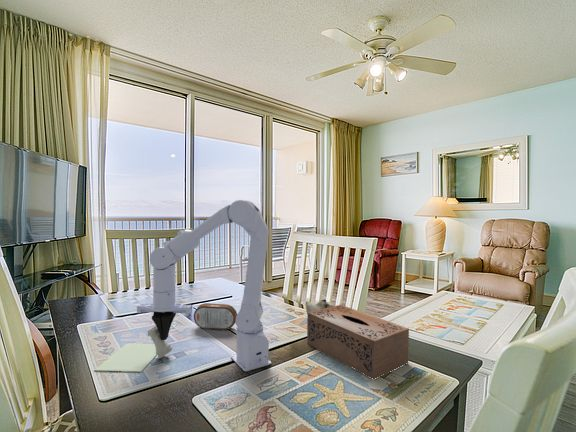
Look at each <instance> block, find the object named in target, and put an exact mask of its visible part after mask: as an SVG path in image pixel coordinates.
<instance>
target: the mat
mask: <svg viewBox="0 0 576 432" xmlns="http://www.w3.org/2000/svg"><path fill="white" fill-rule="evenodd" d="M156 357H158V355H156V347H155V344H154V343H134V342H132V343H131V342H128V343H125V344H124V345H123V346H122V347H120V349H118V350H117V351H116V352H114V353H113V354H112V355H110V357H108V358H107V359H106V360H105V361H103V362H102V363H101V364H100V365H99V366H98V367H96V368H95V369H94V370H93V371H94V372H108V371H118V372H119V371H121V373H122V372H123V373H142V372H143V371H144V370H145V369H146V368H147V367H148V365H150V363H151V362H152V361H154V359H155V358H156ZM118 372H117V373H118ZM119 373H120V372H119Z"/></svg>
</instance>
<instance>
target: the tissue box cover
mask: <svg viewBox="0 0 576 432" xmlns="http://www.w3.org/2000/svg"><path fill="white" fill-rule="evenodd" d="M306 324H307V325H306V326H307V328H306V329H307V330H306V331H307V332H306V333H307V334H306V335H307V336H306V338H307V339H306V344H307V345H309V346H311V347H313V348H315V350H318V351H320V352H321V353H324V354H325V353H326V354H325V355H326V356H329V357H330V358H332V357H333V358H332V359H334V358H335V359H334V360H336V359H337V360H336V361H338V360H339V361H338V362H339V363H341V362H342V363H341V364H343V363H344V364H343V365H345V364H346V366H347V365H348V366H347V367H349V366H350V367H349V368H351V367H353V368H355V369H356V370H358V371H360V372H362V373H364V374H365V375H367V376H369V377H371V378H373V379H375V378H377V377H379V376H381V375H383V374H386V373H388V372H390V371H392V370H394V369H396V368H398V367H400V366H402V365H404V364H406V363H408V364H409V342H410V341H409V340H410V339H409V338H410V337H409V336H410V328H408V327H405V326H403V325H400V324H397V323H394V322H391V321H388V320H385V319H382V318H380V317H376V316H374V315H371V314H368V313H366V312H363V311H360V310H357V309H354V308H351V307H348V306H345V305H342V304H339V305H335V306H333V307H329V308H325V309H321V310H316V311H312V312H308V314H307V323H306ZM356 370H355V371H356ZM358 371H357V372H358ZM394 371H395V370H394ZM360 372H359V373H360ZM392 372H393V371H392ZM390 373H391V372H390ZM388 374H389V373H388ZM365 375H364V376H365ZM386 375H387V374H386ZM367 376H366V377H367ZM369 377H368V378H369ZM371 378H370V379H371Z"/></svg>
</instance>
